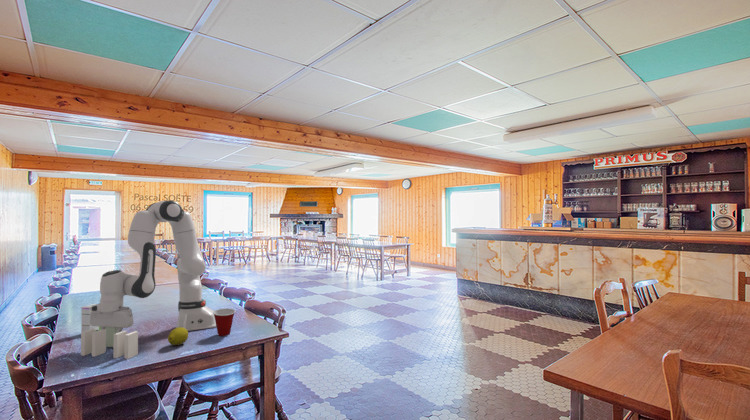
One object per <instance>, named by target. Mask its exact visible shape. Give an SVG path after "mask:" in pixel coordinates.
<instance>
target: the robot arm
mask: <svg viewBox="0 0 750 420" xmlns="http://www.w3.org/2000/svg"><path fill="white" fill-rule="evenodd" d="M190 213H191V212H188V211H187V210H186V211H185V210H184V209H183V208H182V206H181V205H180V203H178V202H177V201H175V200H169V199H167V200H160V201H158V202H153V203H152V204H150V205H148V207H147V208H146V209H144V210H143V209H142V210H139V211H137V212H135V214H134V216H133V218H132V221H131V223H130V227H129V229H128V235H127V243H128V245H129V247H130V248H131V249H133V250H134V251H135V252H137V254H138V255H139V258H140V263H139V264H140V265H139V274H138V275H133V274H130V273H127V272H123V271H122V270H121V269H116V270H115V269H114V270H109V271H107V272H104V273H103V274H102V276H101V278H100V283H99V293H100V300H99V303H96V304H97V305H94V306H91V307H90V311H92V312H91V313H90V325H91V326H98V327H100V329H101V330H102V329H104V330H105V327H117V333H119V332H121V331H124V328H125V329H127V328H130V327H132V326H133V325H134V316H133V315H134V314H133V310H132V309H131V308H130V306H124V297H125V296H129V297H135V298H139V299H145V298H148V297H150V296H151V295H152V294H153V293H154V291H155V289H156V277H155V271H156V270H155V267H156V255H157V251H156V250H157V248H156V246H155V245H156V244H155V236H156V228H157V227H158V225H159V223H169V225H170V227H171V230H172V236H173V241H174V244H175V245H174V246H175V249H176V251H177V254H178V256H179V258H178V259H177V261H176V269H177V279H178V285H179V291H178V292H179V297H178V298H179V300H178V304H177V309H178V310H177V311H178V316H177V323H176V325H175V328H178V327H183V328H185V329H186V330H187V331H188V332H189V331H197V330H205V329H211V328H216V322H215V316H214V314H213V311H214V310H213V309H212V308H210V307H208V306H207V305H206V304H207V301H206V299H203V297H202V296H203V288H202V287H203V286H202V281H201V275H202V274H204V272H205V271H206V267H207V265H206V262H205V259H204V257H203V253H202V251H201V248H200V245H199V242H198V237H197V233H196V227H195V223H194V221H193V218H192V216H191V214H190ZM115 334H116V333H115Z"/></svg>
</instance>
